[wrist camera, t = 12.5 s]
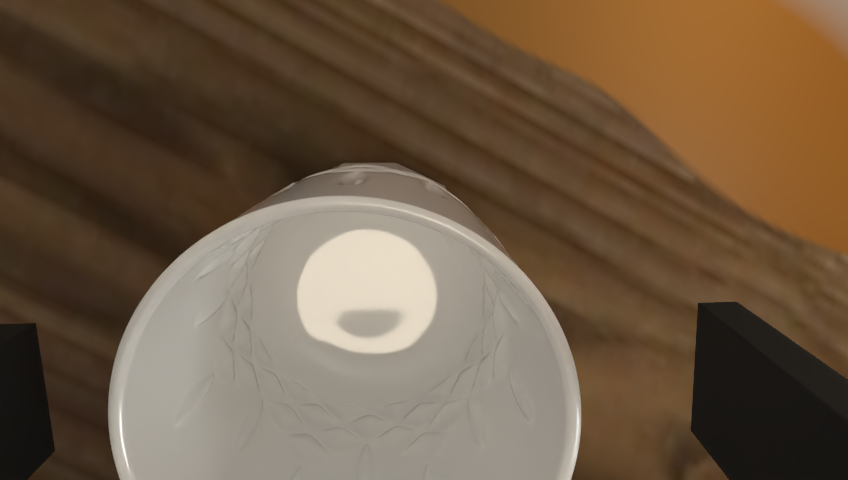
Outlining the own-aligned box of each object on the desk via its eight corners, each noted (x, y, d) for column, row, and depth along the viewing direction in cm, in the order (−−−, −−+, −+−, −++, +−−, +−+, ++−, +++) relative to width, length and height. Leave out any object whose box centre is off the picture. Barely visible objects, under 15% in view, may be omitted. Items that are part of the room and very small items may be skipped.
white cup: (346, 83, 21) (294, 91, 11) (556, 250, 22) (678, 390, 12) (187, 294, 22) (14, 470, 12) (395, 440, 23) (389, 707, 13)
